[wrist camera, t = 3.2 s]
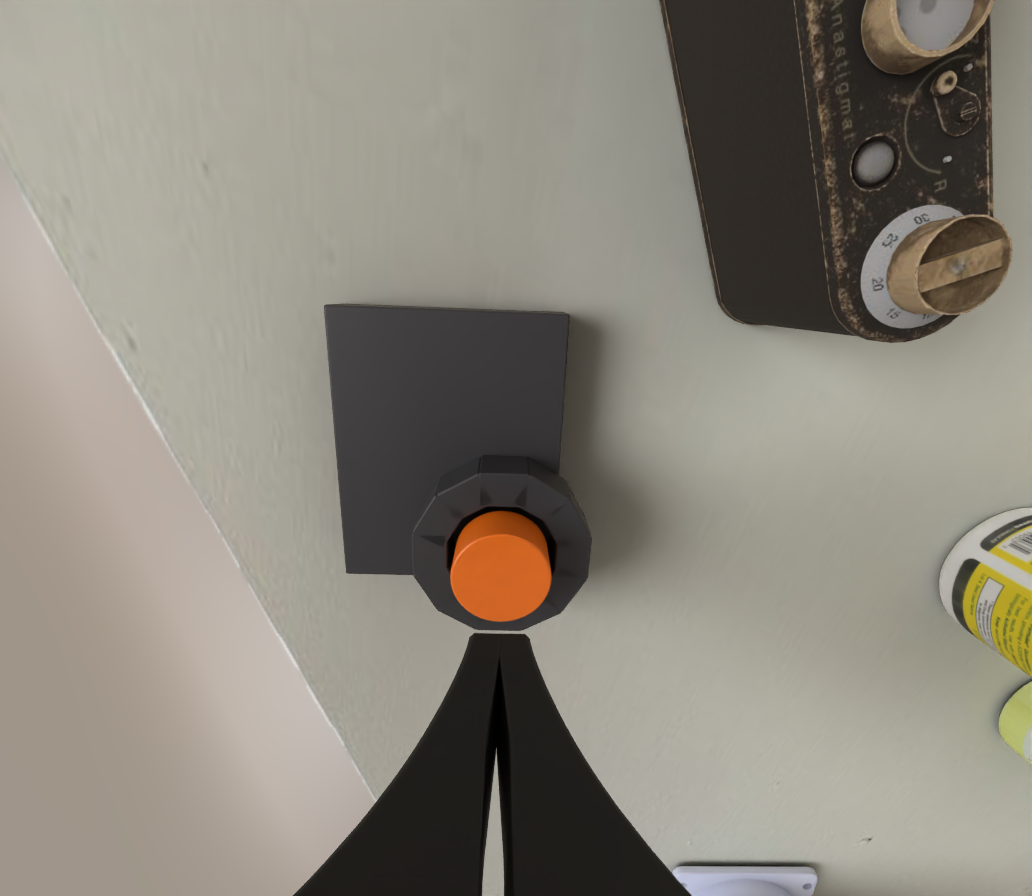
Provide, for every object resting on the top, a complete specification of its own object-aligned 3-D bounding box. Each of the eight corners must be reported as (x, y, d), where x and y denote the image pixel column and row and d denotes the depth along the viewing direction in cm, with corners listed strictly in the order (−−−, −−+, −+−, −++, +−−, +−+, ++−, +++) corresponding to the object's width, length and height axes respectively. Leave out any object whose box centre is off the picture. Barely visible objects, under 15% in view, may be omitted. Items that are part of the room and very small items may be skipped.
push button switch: (570, 577, 21) (583, 632, 17) (360, 573, 20) (331, 627, 17) (593, 313, 17) (613, 318, 14) (340, 303, 17) (299, 306, 14)
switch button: (544, 591, 17) (548, 623, 15) (455, 589, 17) (450, 622, 15) (550, 511, 16) (555, 535, 14) (455, 508, 16) (449, 533, 14)
